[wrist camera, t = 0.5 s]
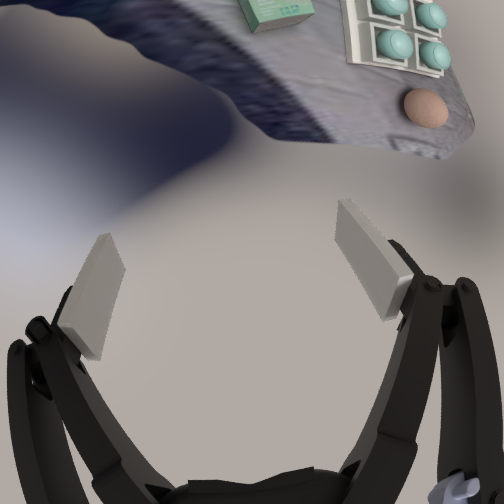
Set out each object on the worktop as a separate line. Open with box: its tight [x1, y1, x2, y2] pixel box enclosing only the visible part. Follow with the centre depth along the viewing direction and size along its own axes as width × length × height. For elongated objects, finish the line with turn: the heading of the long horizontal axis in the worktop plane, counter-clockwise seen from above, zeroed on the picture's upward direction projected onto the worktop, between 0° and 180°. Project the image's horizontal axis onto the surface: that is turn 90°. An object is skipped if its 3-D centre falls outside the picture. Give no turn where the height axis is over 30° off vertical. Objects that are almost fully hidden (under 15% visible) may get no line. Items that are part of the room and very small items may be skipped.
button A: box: [371, 0, 409, 16], centre depth 20 cm, size 4×4×3 cm
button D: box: [419, 42, 451, 69], centre depth 24 cm, size 4×4×3 cm
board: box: [340, 0, 444, 78], centre depth 23 cm, size 20×18×6 cm
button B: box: [376, 29, 413, 59], centre depth 24 cm, size 4×4×3 cm
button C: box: [415, 3, 447, 29], centre depth 20 cm, size 4×4×3 cm
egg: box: [404, 89, 448, 128], centre depth 32 cm, size 7×7×9 cm
